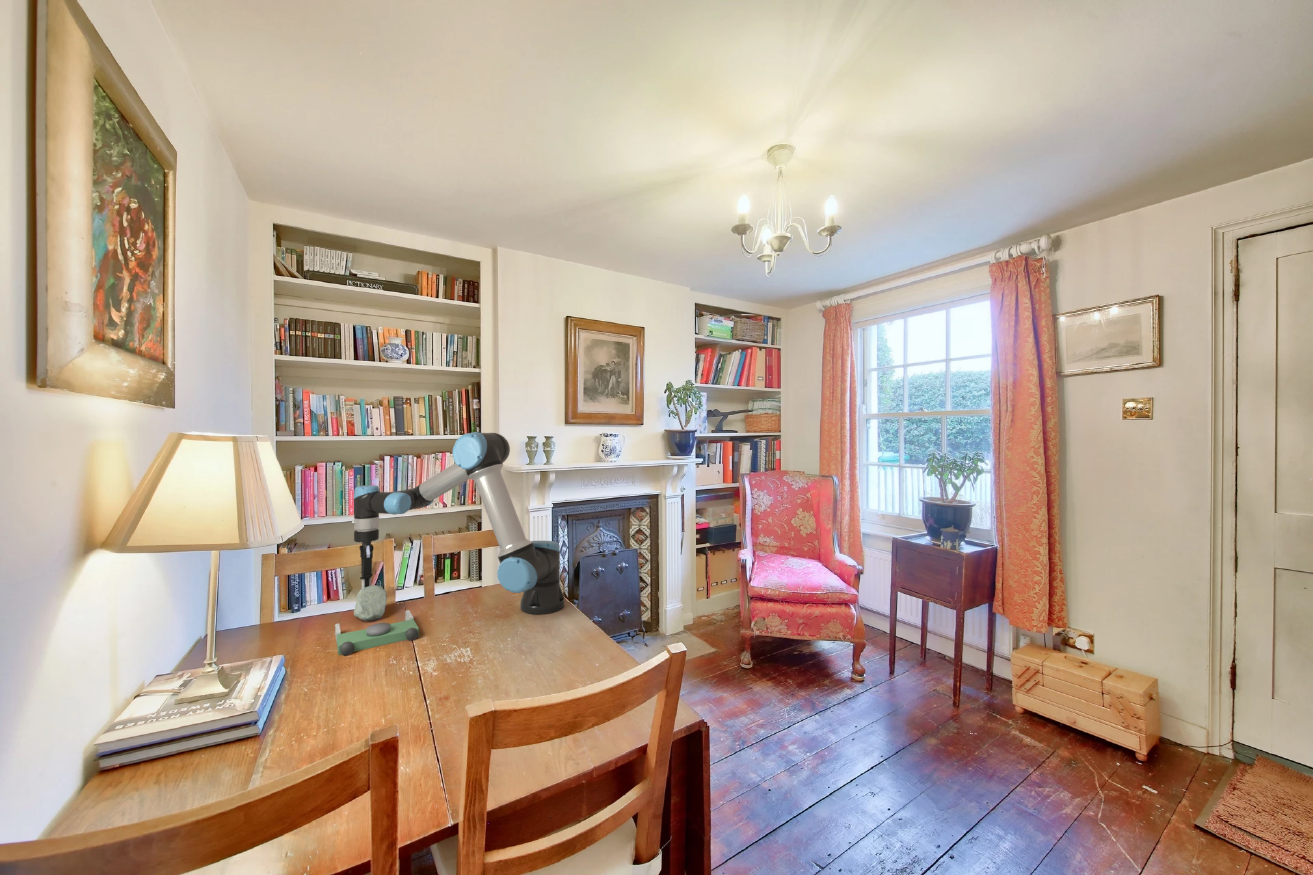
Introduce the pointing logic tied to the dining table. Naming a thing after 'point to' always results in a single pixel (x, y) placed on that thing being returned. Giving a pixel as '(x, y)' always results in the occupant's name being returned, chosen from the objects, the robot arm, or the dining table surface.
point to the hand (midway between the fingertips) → (366, 595)
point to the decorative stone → (370, 603)
